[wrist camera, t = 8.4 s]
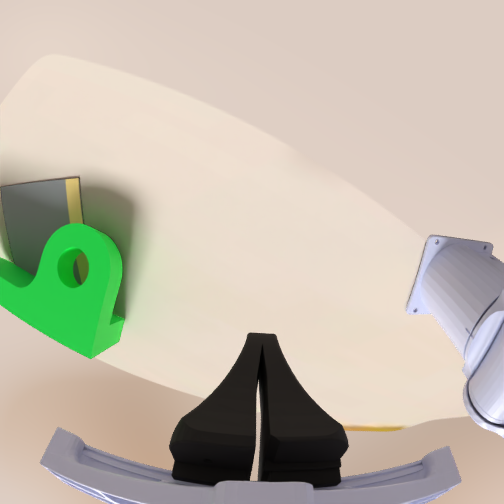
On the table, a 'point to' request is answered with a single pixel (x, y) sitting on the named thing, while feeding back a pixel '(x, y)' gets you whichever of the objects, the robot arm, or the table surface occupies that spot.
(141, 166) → the table surface
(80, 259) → the mat
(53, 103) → the table surface
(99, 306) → the bracket
